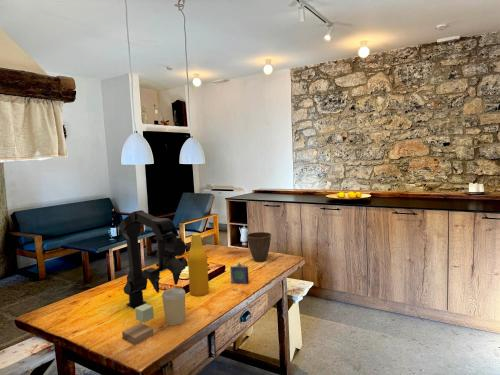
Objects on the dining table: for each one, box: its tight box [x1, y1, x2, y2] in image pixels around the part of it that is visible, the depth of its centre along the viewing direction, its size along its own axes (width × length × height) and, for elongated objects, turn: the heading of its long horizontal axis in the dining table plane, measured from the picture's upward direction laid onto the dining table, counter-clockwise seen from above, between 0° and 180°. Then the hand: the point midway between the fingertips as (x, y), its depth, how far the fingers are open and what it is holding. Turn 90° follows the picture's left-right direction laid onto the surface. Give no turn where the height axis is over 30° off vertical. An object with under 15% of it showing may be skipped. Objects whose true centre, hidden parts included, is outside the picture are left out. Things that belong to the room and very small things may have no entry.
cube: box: [134, 303, 155, 324], centre depth 143 cm, size 5×5×5 cm
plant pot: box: [246, 231, 272, 263], centre depth 212 cm, size 15×15×16 cm
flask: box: [230, 262, 249, 285], centre depth 177 cm, size 9×3×11 cm, turn 79°
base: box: [121, 322, 155, 346], centre depth 129 cm, size 8×8×3 cm
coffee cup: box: [161, 287, 186, 326], centre depth 139 cm, size 9×9×12 cm
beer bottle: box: [187, 232, 210, 297], centre depth 166 cm, size 9×9×29 cm
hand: (167, 288), depth 139 cm, fingers open, 9 cm apart
